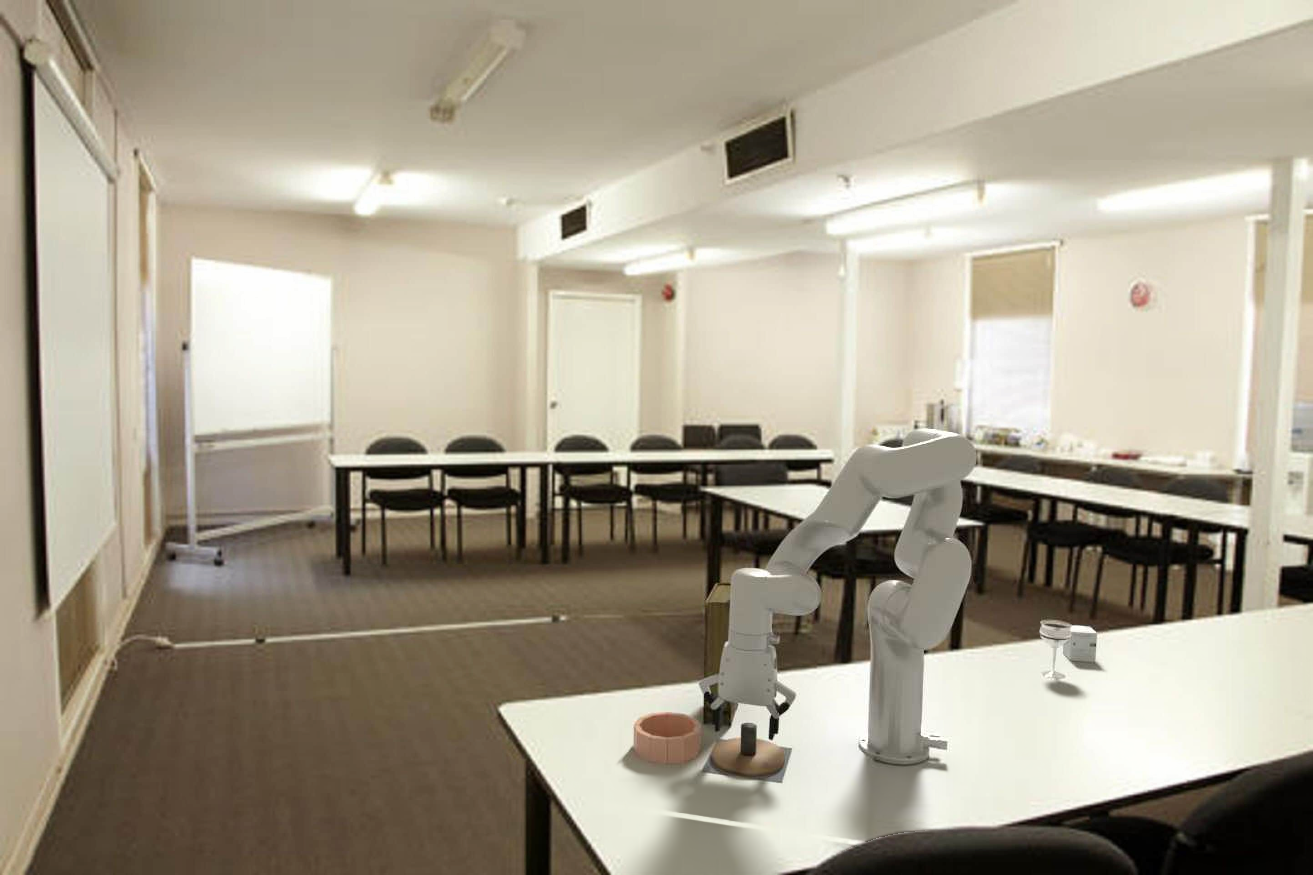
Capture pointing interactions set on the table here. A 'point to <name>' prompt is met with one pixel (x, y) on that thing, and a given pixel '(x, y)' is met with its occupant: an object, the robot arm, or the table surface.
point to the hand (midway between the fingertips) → (744, 732)
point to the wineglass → (1055, 640)
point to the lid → (748, 754)
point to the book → (717, 645)
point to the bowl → (667, 737)
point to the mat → (773, 777)
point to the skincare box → (1081, 644)
